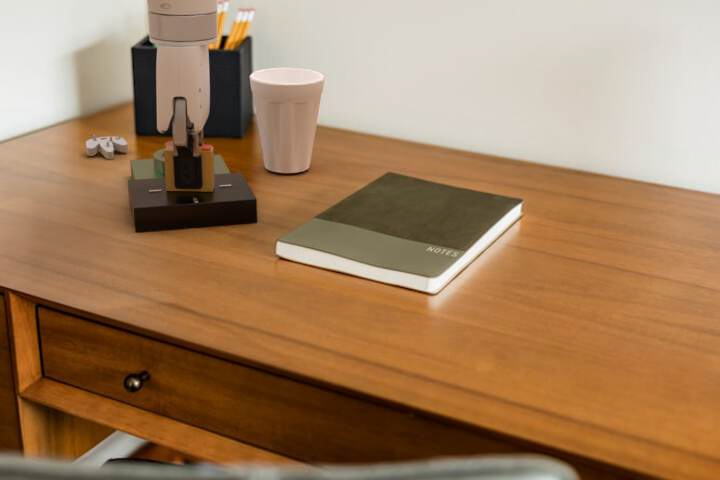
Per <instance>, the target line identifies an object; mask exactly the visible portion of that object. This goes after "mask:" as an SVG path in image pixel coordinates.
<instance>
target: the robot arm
mask: <svg viewBox="0 0 720 480" xmlns="http://www.w3.org/2000/svg"><path fill="white" fill-rule="evenodd" d="M146 2H147V3H146V4H147V16H148V17H147V18H148V34H149V42H150V43H151V44H154V45H157V47H156V62H155V63H156V64H155V67H156V68H155V82H156V85H155V87H156V89H155V90H156V91H155V92H156V129H157V131H158V132H159V133H160V134H165V133H166V132H168V130H169V128H170V127H171V128H172V129H171V130H172V131H171V132H172V141H173V151H174V155H173V164H174V183H175V188H177V189H201V188H202V186H203V180H202V155H199V146H203V145H204V126H205V125H206V122H207V121H208V119H209V115H210V110H211V109H210V108H211V107H210V106H211V81H210V78H211V77H210V56H209V54H210V53H209V45H212V44H213V45H214V44H217V42H219V33H218V32H219V30H218V29H219V28H218V27H219V26H218V0H146Z"/></svg>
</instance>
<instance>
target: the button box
mask: <svg viewBox="0 0 720 480" xmlns="http://www.w3.org/2000/svg"><path fill="white" fill-rule="evenodd" d="M164 150H165V148H162V149H158V150H157V151H155V152H154V153H153V154H152V158H142V159H141V158H140V159H130V160H129V165H130V175H131V180H137V179H151V178H165V161H164ZM226 173H231V172H230V170H229V168H228V166H227V164H226V163H225V161H224V159H223V157H222V155H221V154H214V174H226Z"/></svg>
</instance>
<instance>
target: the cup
mask: <svg viewBox="0 0 720 480" xmlns="http://www.w3.org/2000/svg"><path fill="white" fill-rule="evenodd" d="M249 84H250V90H251V92H252V97H253V103H254V109H255V116H256V121H257V128H258V134H259V141H260V146H261V153H262V159H263V160H262V161H263V166H264V168H265V169H266V170H268V171H270V172H273V173H279V174H296V173H301V172H305V171H307V170H309V169H310V167H311V162H312V156H313V148H314V143H315V136H316V131H317V123H318V118H319V112H320V106H321V105H320V104H321V98H322V93H323V92H324V86H325V76H324V75H323V74H322V73H321V72H320V71H316V70H313V69H307V68H300V67H298V68H297V67H272V68H263V69H260V70H255V71H253V72H252V73H251V74H250V75H249Z"/></svg>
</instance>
